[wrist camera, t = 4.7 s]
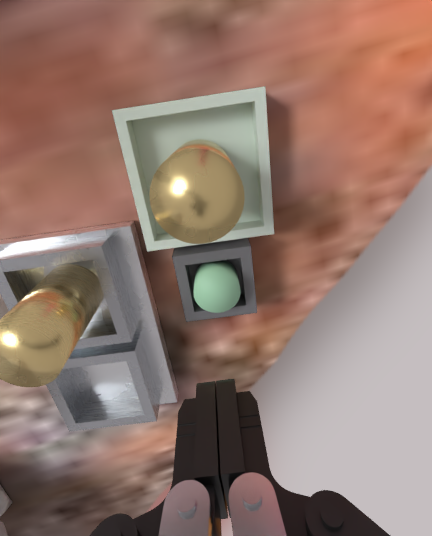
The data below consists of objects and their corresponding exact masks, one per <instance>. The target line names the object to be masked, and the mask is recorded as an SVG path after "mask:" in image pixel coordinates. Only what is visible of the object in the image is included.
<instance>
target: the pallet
mask: <svg viewBox="0 0 432 536" xmlns="http://www.w3.org/2000/svg"><path fill="white" fill-rule="evenodd" d="M65 264H75V265H79V266H82V267H85V268H87V269H89V270H90V271H92V272H93V273H94V274H95V275H96V276H97V277H98V279H99V282H100V285H101V288H102V291H103V293H104V297H103V300H102V302H101V304H100V306H99V308H98V309H97V311H96V313H95V314H94V316H93V318H92V319H91V321H90V323H89V324H88V326H87V328H86V330H85V331H84V333H83V335H82V336H81V338H80V340H79V341H78V343H77V345H76V346H75V348H74V350H73V352H72V353H71V355H70V357H69V358H68V360H67V362H66V363H65V365H64V367H63V369H62V370H61V372H60V374H59V375H58V376H57V378H56V379H55V380H53V381H52V382H50V383H48V384H46V386H47V388H48V390H49V392H50V394H51V396H52V398H53V400H54V402H55V404H56V406H57V408H58V410H59V412H60V414H61V416H62V418H63V420H64V422H65V424H66V426H67V428H68V430H69V431H77V430H85V429H94V428H102V427H111V426H119V425H128V424H136V423H145V422H153V421H157V417H158V411H159V405H160V404H167V403H175V402H177V398H178V388H177V385H176V381H175V377H174V373H173V369H172V365H171V361H170V358H169V354H168V350H167V346H166V342H165V338H164V334H163V331H162V327H161V323H160V319H159V315H158V311H157V307H156V304H155V300H154V296H153V292H152V288H151V284H150V280H149V277H148V273H147V269H146V265H145V261H144V257H143V253H142V250H141V246H140V242H139V238H138V234H137V230H136V226H135V223H134V221H128V222H121V223H114V224H107V225H100V226H93V227H86V228H79V229H72V230H65V231H58V232H51V233H44V234H37V235H30V236H23V237H16V238H9V239H2V240H0V294H1V296H2V298H3V300H4V302H5V304H6V306H7V308H8V310H9V311H10V310H11V309H12V308H13V307H14V306H15V305H16V304H17V303H18V302H19V301H20V300H21V299H22V298H24V297H25V296H26V295H27V294H28V293H29V292H30V291H31V290H32V289H33V288H34V287H35V286H36V285H37V284H38V283H39V282H40V281H41V280H42V279H43V278H44V277H46V276H47V275H48V274H49V273H50V272H51V271H52V270H53V269H54V268H56V267H58V266H61V265H65Z"/></svg>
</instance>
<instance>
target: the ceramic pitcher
mask: <svg viewBox="0 0 432 536" xmlns="http://www.w3.org/2000/svg"><path fill="white" fill-rule="evenodd" d="M11 504H12V501H11V500H10V498H9V497H8V495H7V494H6V492H5V491H4V489H3V488H2V486H1V485H0V516H1V515H2V514H4V513H5V512H6V510H7V509H8V507H9V506H10V505H11ZM0 536H8V534H7V531H6V528H5V525H4V523H2V522H1V521H0Z"/></svg>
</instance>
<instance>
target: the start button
mask: <svg viewBox="0 0 432 536" xmlns="http://www.w3.org/2000/svg"><path fill="white" fill-rule="evenodd" d="M240 293H241V291H240V285H239V280H238V275H237V271H236V269H235V268H234V266H233V265H232V264H230V263H229V262H227V261H225V260H221V261H214V262H206V263H202V264H201V265H200V266H199V267H198V269H197V271H196V273H195V280H194V299H195V301H196V303H197V304H198V305H199V306H200V307H201V308H202V309H204V310H206V311H208V312H213V313H221V312H225V311H227V310H229V309H231V308H233V307H234V306H235V305H236V303H237V302H238V300H239V298H240Z"/></svg>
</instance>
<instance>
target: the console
mask: <svg viewBox="0 0 432 536" xmlns="http://www.w3.org/2000/svg"><path fill="white" fill-rule="evenodd" d="M172 258H173V263H174V268H175V272H176V277H177V281H178V286H179V291H180V295H181V300H182V305H183V309H184V314H185V318H186V322H189V321H196V320H204V319H212V318H219V317H227V316H235V315H243V314H250V313H257V305H256V295H255V285H254V274H253V264H252V254H251V245H250V242H249V240H248V238H242V239H235V240H227V241H220V242H213V243H206V244H198V245H191V246H184V247H177V248H174V252H173V256H172ZM221 260H225V261H227V262H229V263H230V264H232V265H233V266H234V268H235V269H236V271H237V275H238V280H239V285H240V291H241V293H240V298H239V300H238V302H237V303H236V305H235V306H234V307H233V308H231V309H229V310H227V311H225V312H221V313H213V312H208V311H206V310H204V309H202V308H201V307H200V306H199V305H198V304H197V303H196V301H195V299H194V280H195V273H196V271H197V269H198V267H199V266H200V265H201V264H202V263H206V262H214V261H221Z"/></svg>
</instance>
